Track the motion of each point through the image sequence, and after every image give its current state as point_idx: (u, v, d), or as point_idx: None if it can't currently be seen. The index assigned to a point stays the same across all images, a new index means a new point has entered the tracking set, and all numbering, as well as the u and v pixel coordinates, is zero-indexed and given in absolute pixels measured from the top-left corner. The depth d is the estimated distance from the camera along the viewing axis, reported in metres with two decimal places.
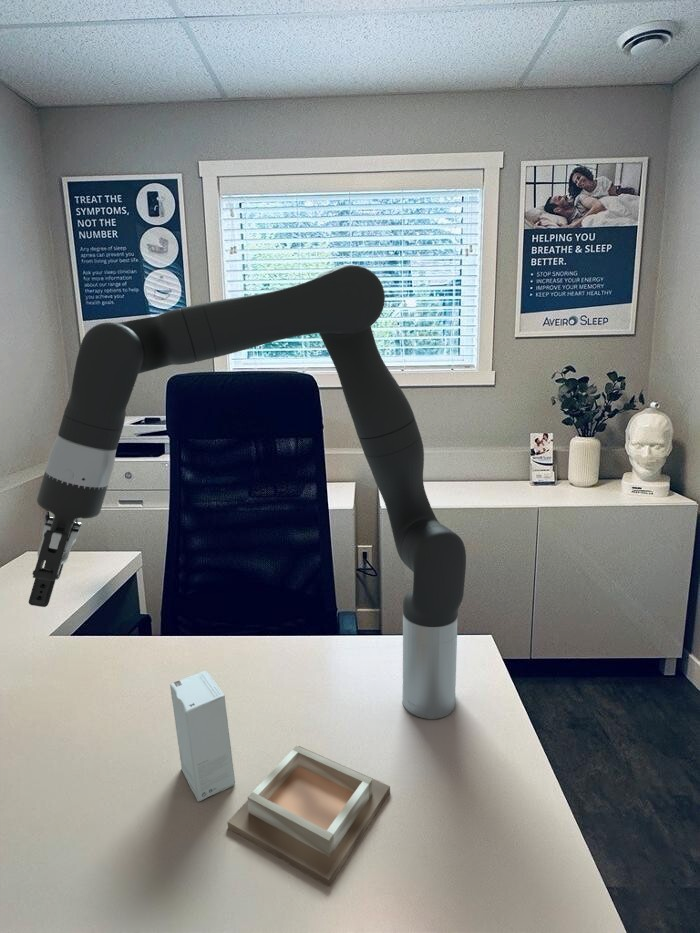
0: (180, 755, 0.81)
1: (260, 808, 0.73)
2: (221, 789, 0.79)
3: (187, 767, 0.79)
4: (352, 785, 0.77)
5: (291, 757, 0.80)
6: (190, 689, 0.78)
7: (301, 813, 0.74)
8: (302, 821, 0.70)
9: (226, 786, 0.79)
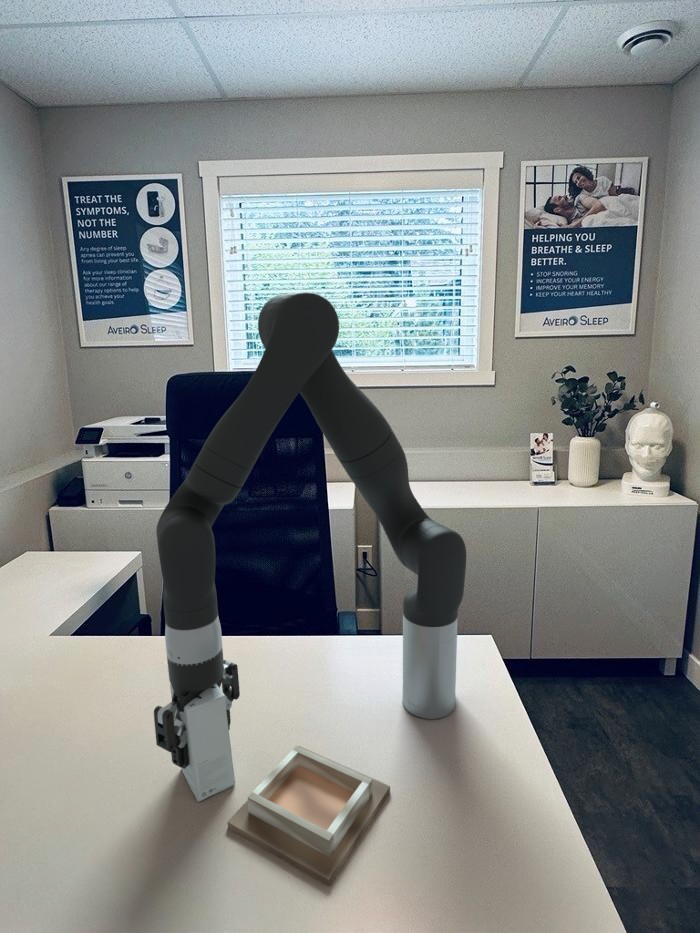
0: None
1: (260, 808, 0.73)
2: (221, 789, 0.79)
3: (187, 767, 0.78)
4: (352, 785, 0.77)
5: (291, 757, 0.80)
6: None
7: (301, 813, 0.74)
8: (302, 821, 0.70)
9: (226, 786, 0.79)
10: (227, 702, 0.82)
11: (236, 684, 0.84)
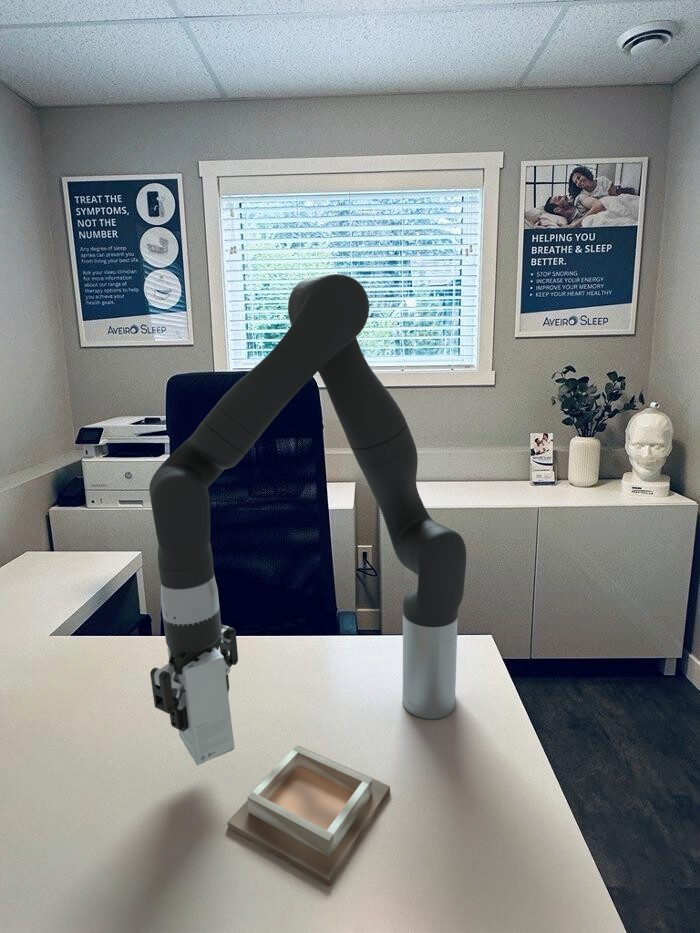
0: None
1: (260, 808, 0.73)
2: (220, 753, 0.78)
3: (185, 731, 0.77)
4: (352, 785, 0.77)
5: (291, 757, 0.80)
6: None
7: (301, 813, 0.74)
8: (302, 821, 0.70)
9: (225, 750, 0.78)
10: (225, 667, 0.81)
11: (234, 649, 0.82)
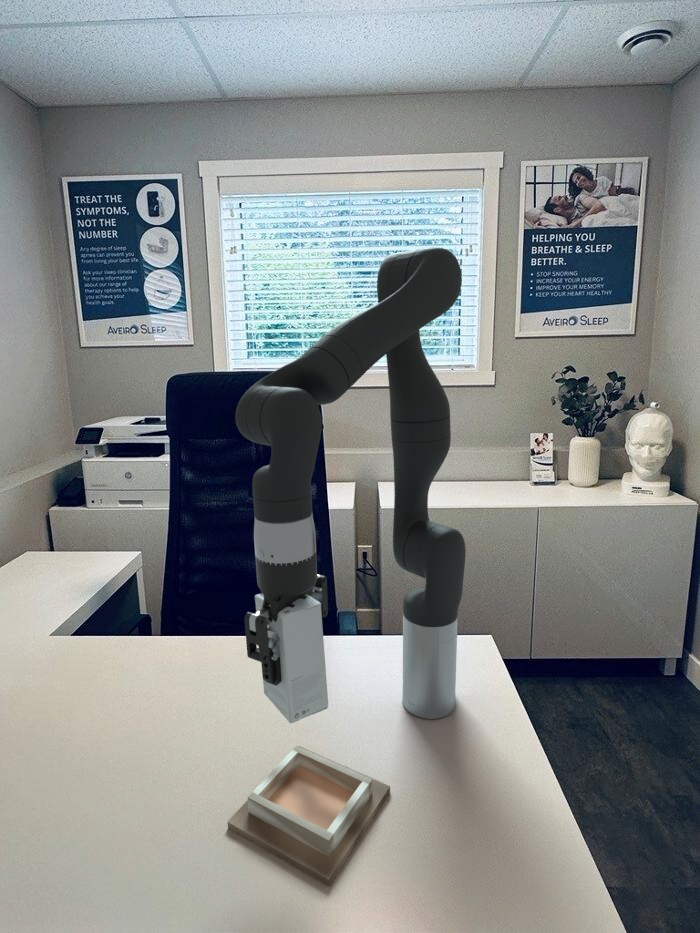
0: None
1: (260, 808, 0.73)
2: (314, 711, 0.70)
3: (276, 687, 0.70)
4: (352, 785, 0.77)
5: (291, 757, 0.80)
6: None
7: (301, 813, 0.74)
8: (302, 821, 0.70)
9: (319, 708, 0.70)
10: None
11: (325, 599, 0.75)
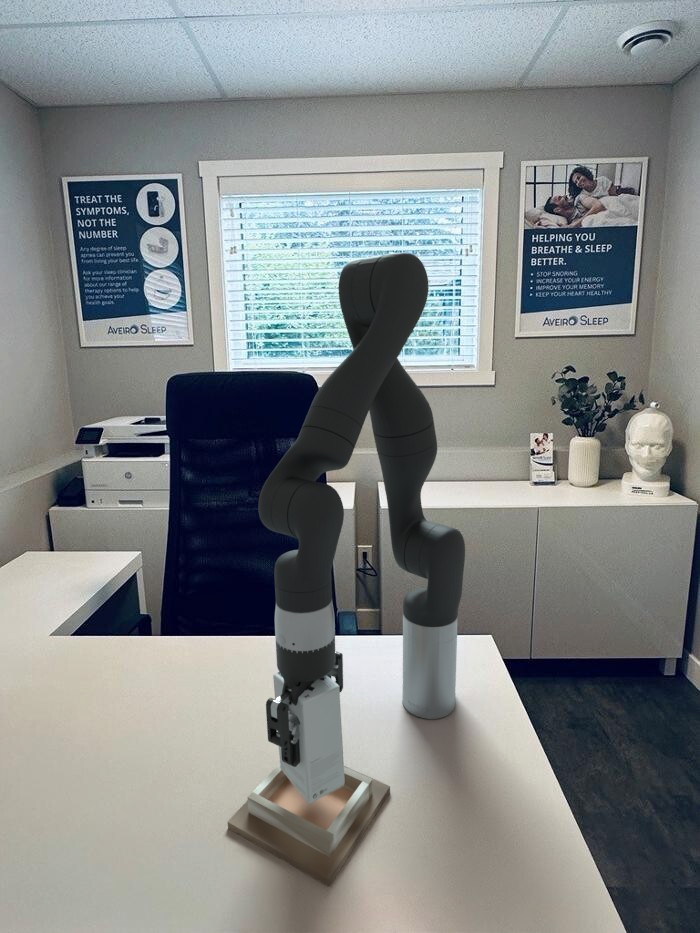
0: None
1: (260, 808, 0.73)
2: (331, 790, 0.71)
3: None
4: (352, 785, 0.77)
5: None
6: None
7: (301, 813, 0.74)
8: (302, 821, 0.70)
9: (336, 787, 0.72)
10: None
11: (340, 675, 0.76)
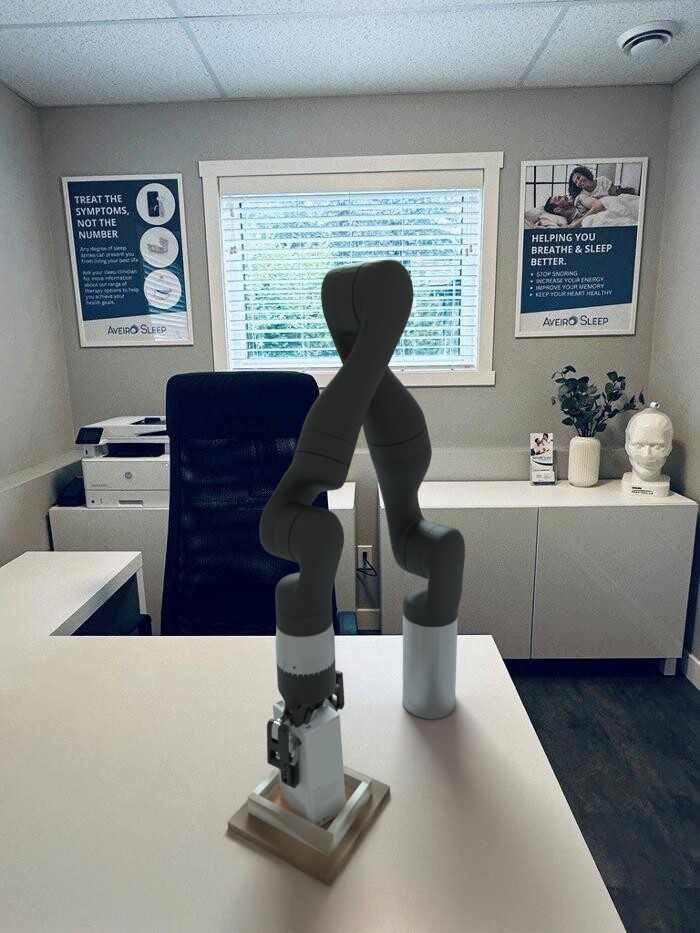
0: None
1: (260, 808, 0.73)
2: (333, 816, 0.73)
3: (296, 795, 0.72)
4: (352, 785, 0.77)
5: None
6: None
7: None
8: (302, 821, 0.70)
9: (338, 813, 0.73)
10: None
11: (341, 693, 0.77)
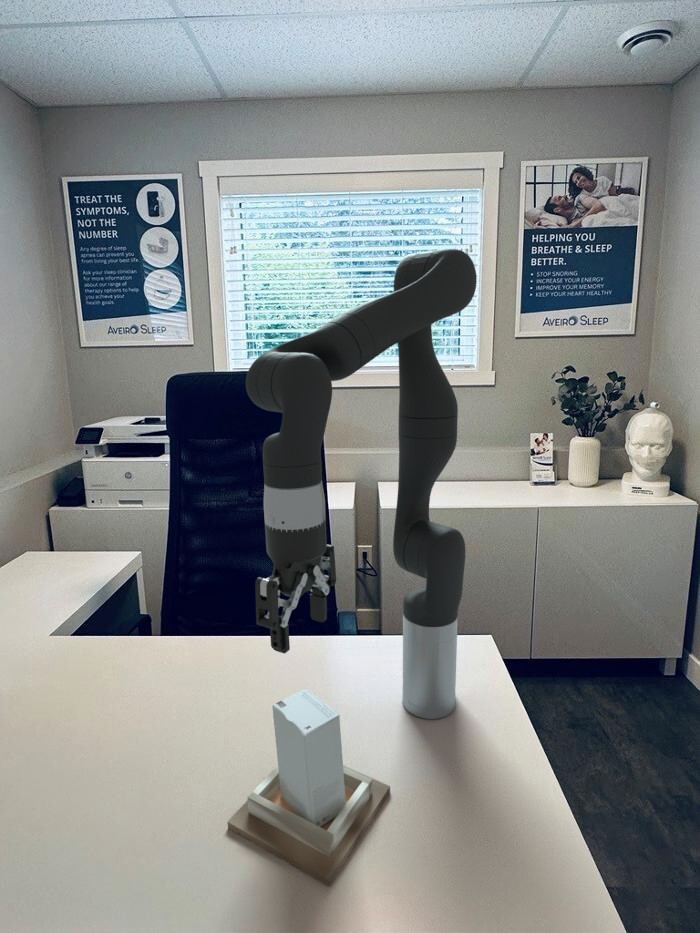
0: (282, 782, 0.75)
1: (260, 808, 0.73)
2: (333, 816, 0.73)
3: (296, 795, 0.72)
4: (352, 785, 0.77)
5: None
6: (298, 709, 0.72)
7: None
8: (302, 821, 0.70)
9: (338, 813, 0.73)
10: (325, 586, 0.74)
11: (333, 568, 0.75)
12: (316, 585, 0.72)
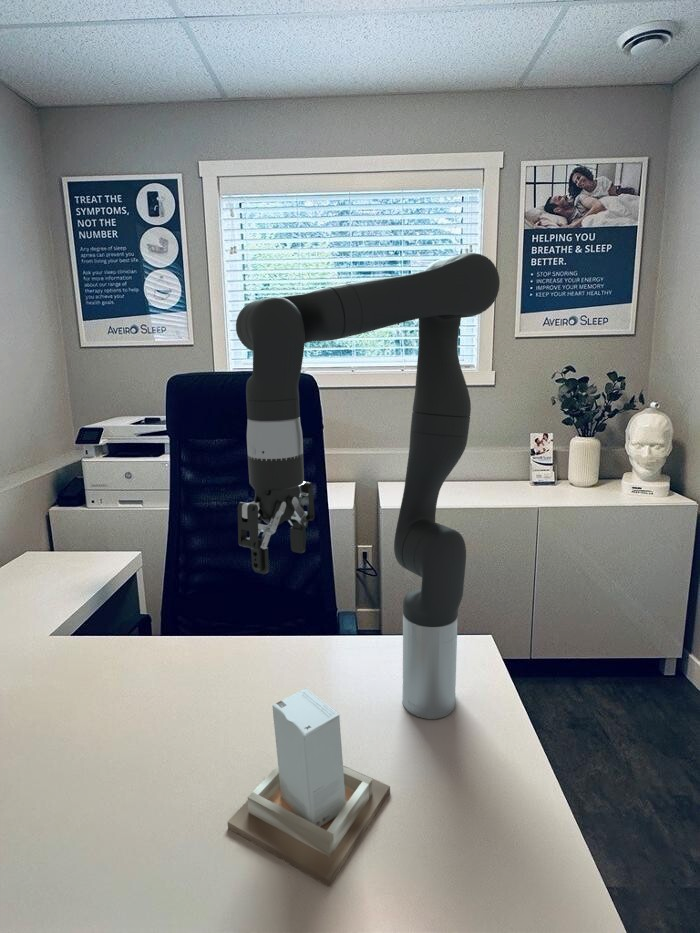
0: (282, 782, 0.75)
1: (260, 808, 0.73)
2: (333, 816, 0.73)
3: (296, 795, 0.72)
4: (352, 785, 0.77)
5: None
6: (298, 709, 0.72)
7: None
8: (302, 821, 0.70)
9: (338, 813, 0.73)
10: (304, 519, 0.81)
11: (311, 504, 0.82)
12: (295, 517, 0.79)
